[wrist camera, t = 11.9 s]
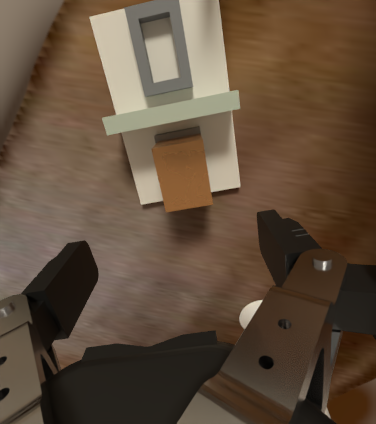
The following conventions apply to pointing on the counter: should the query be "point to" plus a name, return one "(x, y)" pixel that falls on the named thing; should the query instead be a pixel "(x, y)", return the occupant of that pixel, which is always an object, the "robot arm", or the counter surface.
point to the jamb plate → (169, 85)
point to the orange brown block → (182, 172)
